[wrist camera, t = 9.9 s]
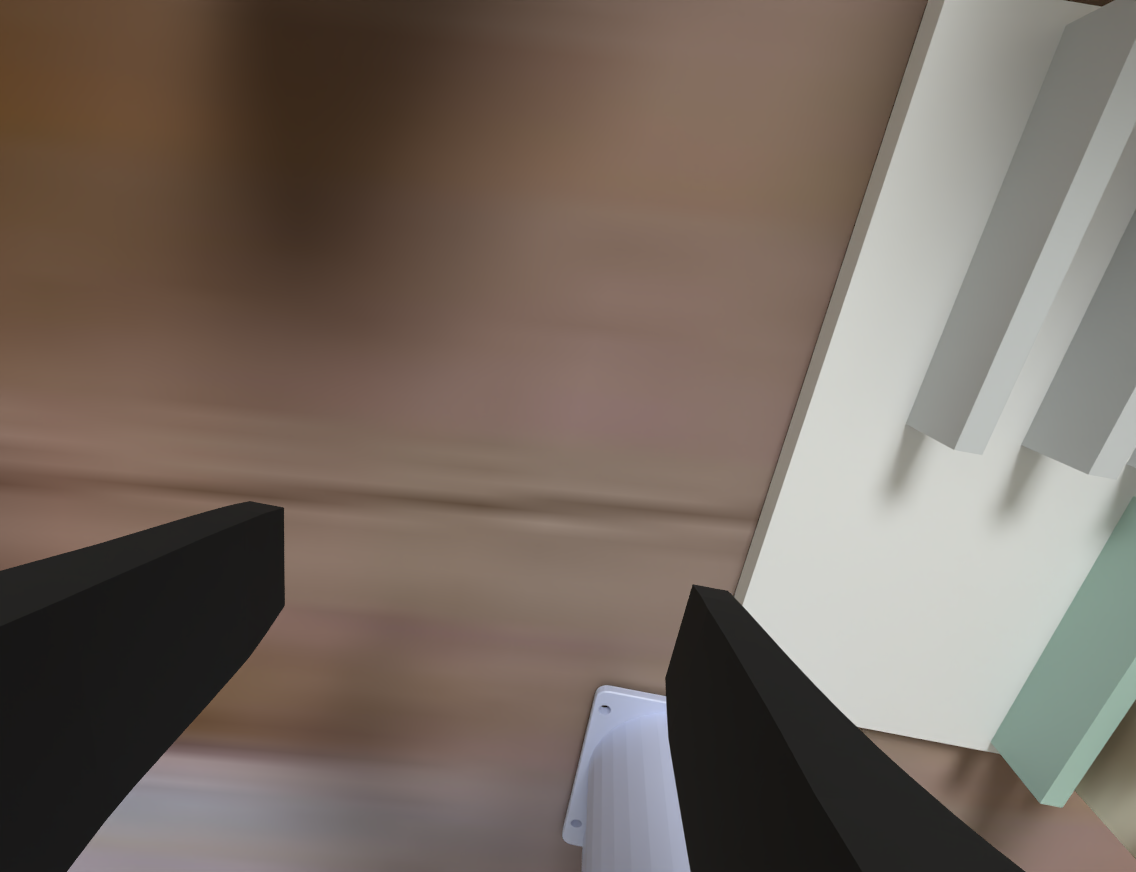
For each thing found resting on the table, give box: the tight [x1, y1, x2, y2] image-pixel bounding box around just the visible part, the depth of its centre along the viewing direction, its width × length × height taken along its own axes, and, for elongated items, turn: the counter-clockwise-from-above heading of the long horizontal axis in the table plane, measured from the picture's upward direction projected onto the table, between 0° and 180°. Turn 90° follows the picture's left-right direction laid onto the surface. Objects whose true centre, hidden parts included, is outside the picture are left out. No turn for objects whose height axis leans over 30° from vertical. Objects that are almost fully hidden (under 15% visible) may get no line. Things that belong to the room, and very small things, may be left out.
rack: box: [734, 0, 1136, 808], centre depth 16 cm, size 24×17×4 cm
